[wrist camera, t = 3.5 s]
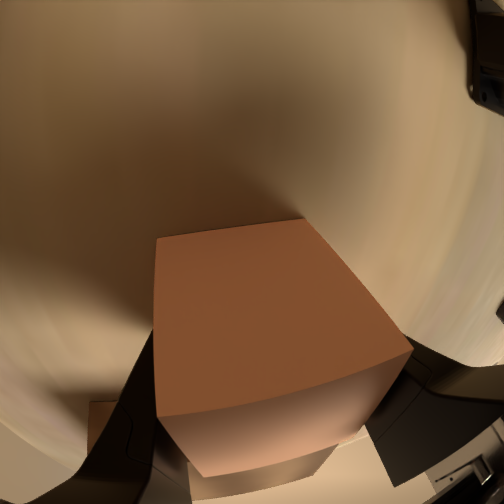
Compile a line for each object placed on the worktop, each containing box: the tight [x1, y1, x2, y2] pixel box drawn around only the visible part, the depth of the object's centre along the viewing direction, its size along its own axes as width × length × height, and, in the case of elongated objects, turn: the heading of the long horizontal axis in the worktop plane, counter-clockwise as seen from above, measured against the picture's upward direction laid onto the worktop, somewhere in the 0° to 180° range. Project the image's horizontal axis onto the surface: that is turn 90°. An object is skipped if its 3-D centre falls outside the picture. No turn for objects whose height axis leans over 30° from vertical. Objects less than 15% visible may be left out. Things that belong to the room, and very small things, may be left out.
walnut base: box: [87, 401, 339, 501], centre depth 16 cm, size 14×14×4 cm
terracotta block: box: [153, 218, 414, 477], centre depth 8 cm, size 5×5×6 cm
